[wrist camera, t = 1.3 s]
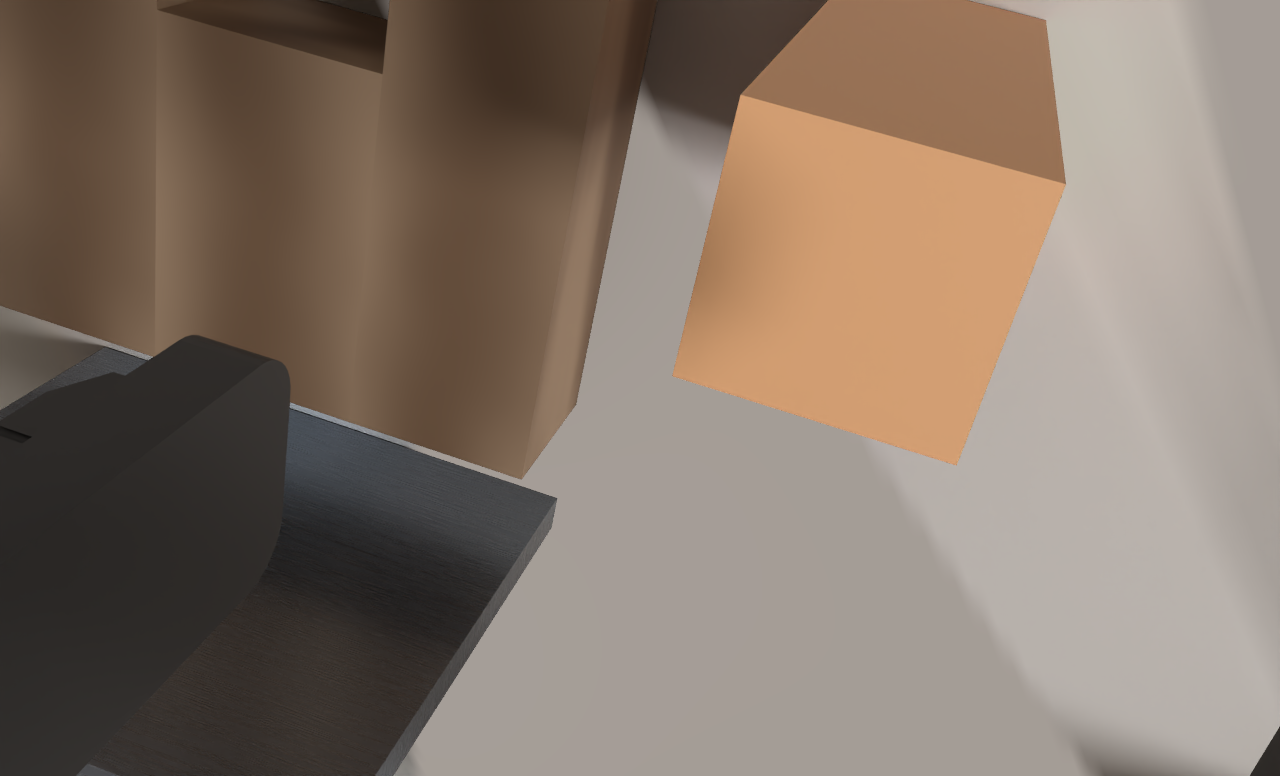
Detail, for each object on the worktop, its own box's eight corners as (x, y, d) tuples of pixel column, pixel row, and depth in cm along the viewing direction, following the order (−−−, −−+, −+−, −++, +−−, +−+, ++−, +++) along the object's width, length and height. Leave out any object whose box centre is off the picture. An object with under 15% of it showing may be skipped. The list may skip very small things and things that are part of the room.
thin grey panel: (603, 265, 30) (55, 886, 13) (551, 527, 33) (75, 1273, 17) (101, 113, 32) (-944, 474, 15) (105, 377, 36) (-721, 902, 19)
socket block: (714, -286, 24) (663, -300, 20) (575, 404, 32) (521, 479, 28) (91, -428, 26) (-51, -463, 22) (103, 252, 34) (-2, 305, 30)
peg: (1045, 20, 25) (1065, 184, 14) (980, 203, 27) (956, 465, 16) (854, -29, 25) (740, 95, 15) (804, 153, 27) (671, 376, 17)
